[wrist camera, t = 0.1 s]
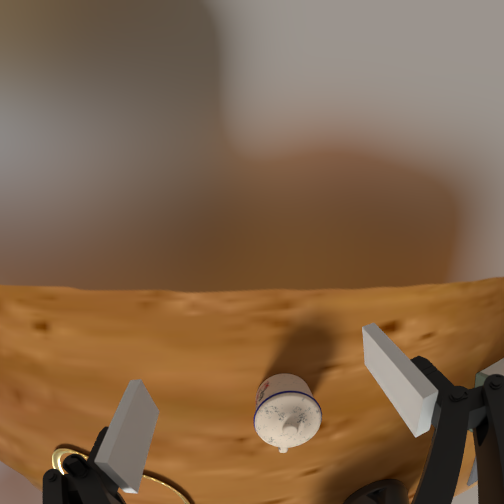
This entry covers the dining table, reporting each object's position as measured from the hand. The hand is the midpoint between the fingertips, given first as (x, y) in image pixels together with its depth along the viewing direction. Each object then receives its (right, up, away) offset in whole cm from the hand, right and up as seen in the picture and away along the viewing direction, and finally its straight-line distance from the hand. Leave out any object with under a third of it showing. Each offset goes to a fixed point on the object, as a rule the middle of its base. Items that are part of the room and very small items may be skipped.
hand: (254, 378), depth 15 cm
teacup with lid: (+5, -17, +26) cm, 32 cm away
